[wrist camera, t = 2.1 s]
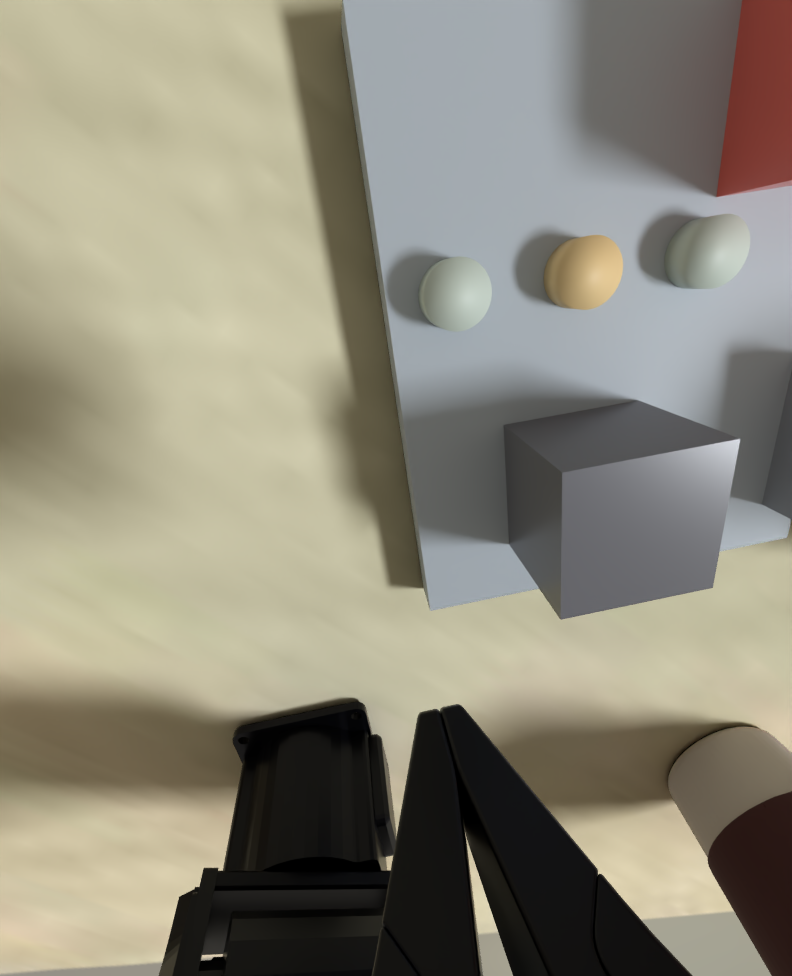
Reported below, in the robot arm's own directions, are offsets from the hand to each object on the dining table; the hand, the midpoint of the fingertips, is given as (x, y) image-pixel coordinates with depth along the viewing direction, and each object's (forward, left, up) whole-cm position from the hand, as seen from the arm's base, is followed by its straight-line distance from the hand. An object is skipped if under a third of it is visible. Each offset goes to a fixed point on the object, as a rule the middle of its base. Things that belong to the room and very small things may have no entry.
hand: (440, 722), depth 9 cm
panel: (+9, +5, -10) cm, 15 cm away
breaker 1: (+7, 0, -9) cm, 11 cm away
